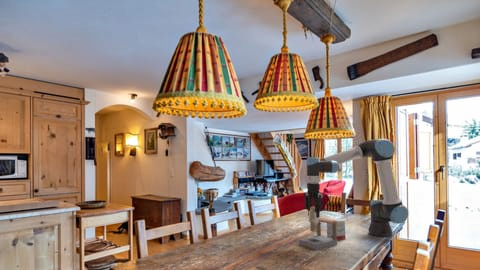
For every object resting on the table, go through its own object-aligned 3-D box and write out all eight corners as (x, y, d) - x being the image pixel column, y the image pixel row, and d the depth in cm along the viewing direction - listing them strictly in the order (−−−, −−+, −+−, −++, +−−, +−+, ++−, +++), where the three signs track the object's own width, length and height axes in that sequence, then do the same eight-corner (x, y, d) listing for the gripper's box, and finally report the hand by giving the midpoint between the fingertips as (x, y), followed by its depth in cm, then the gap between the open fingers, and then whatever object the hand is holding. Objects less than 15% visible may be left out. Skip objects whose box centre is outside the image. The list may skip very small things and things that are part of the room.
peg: (309, 230, 182) (308, 206, 183) (313, 229, 185) (313, 206, 186) (314, 232, 179) (313, 207, 180) (318, 231, 181) (318, 207, 182)
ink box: (346, 239, 195) (345, 220, 196) (335, 240, 192) (334, 221, 193) (337, 236, 203) (336, 218, 204) (326, 237, 200) (326, 219, 201)
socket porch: (318, 239, 194) (318, 217, 195) (337, 244, 182) (336, 220, 184) (298, 244, 183) (298, 220, 185) (317, 250, 172) (316, 224, 173)
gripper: (298, 182, 189) (298, 220, 187) (320, 184, 175) (320, 225, 173) (306, 181, 193) (307, 219, 191) (328, 183, 179) (329, 224, 177)
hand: (313, 222), depth 182 cm, fingers closed on peg, 4 cm apart
